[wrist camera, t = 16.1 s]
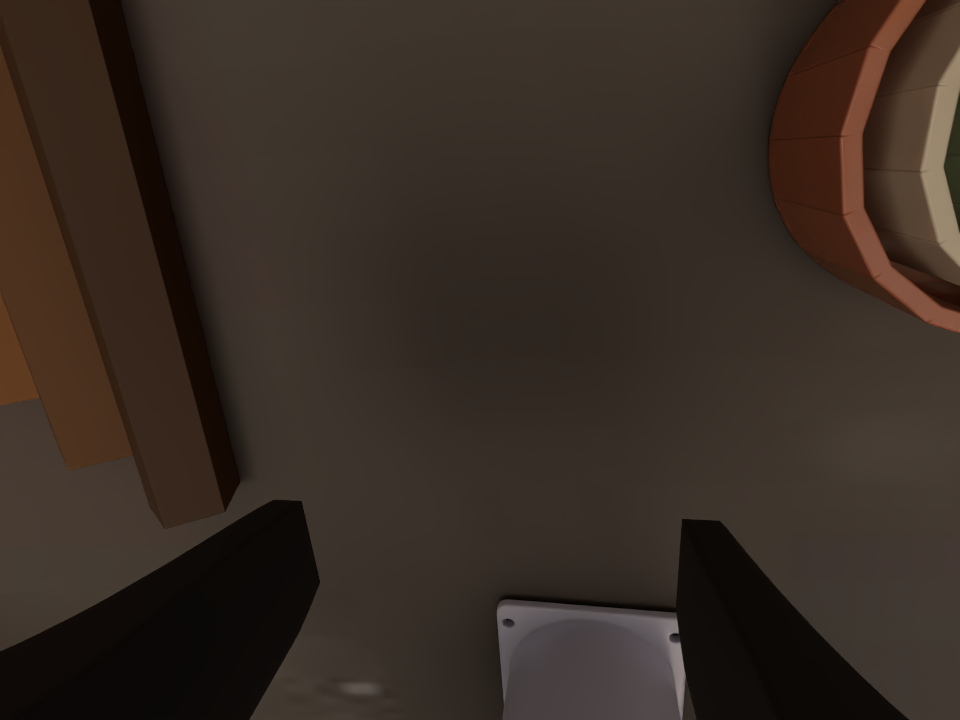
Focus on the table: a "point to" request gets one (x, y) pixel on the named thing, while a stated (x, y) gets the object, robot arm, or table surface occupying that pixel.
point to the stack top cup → (916, 145)
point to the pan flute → (99, 263)
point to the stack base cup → (846, 157)
